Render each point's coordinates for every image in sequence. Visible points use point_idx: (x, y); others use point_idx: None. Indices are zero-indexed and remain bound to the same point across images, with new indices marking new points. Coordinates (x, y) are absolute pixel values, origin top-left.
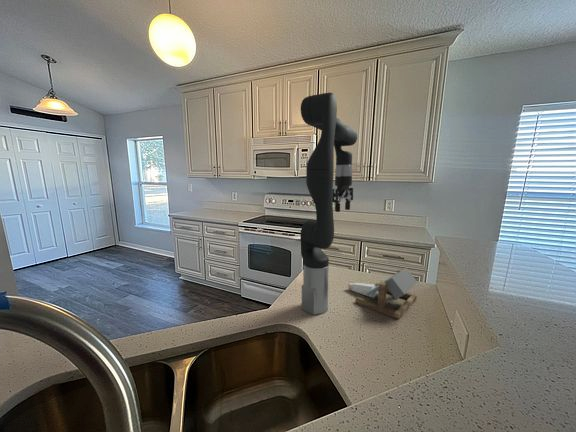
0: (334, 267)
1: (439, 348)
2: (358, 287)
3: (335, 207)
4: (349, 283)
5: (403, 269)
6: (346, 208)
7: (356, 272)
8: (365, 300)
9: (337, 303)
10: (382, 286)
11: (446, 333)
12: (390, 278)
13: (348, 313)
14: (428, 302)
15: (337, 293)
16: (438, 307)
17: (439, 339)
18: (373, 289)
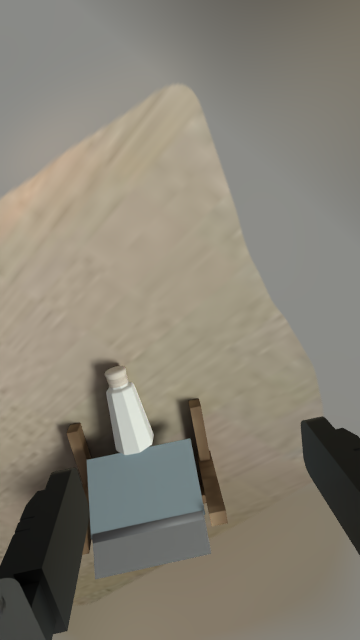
0: (223, 188)
1: (79, 587)
2: (111, 411)
3: (17, 537)
4: (111, 375)
5: (189, 557)
6: (310, 442)
7: (250, 284)
8: (79, 455)
9: (21, 402)
10: None
11: (134, 574)
12: (120, 547)
13: (13, 449)
14: (226, 508)
15: (63, 362)
16: (220, 528)
17: (104, 577)
18: (88, 491)
